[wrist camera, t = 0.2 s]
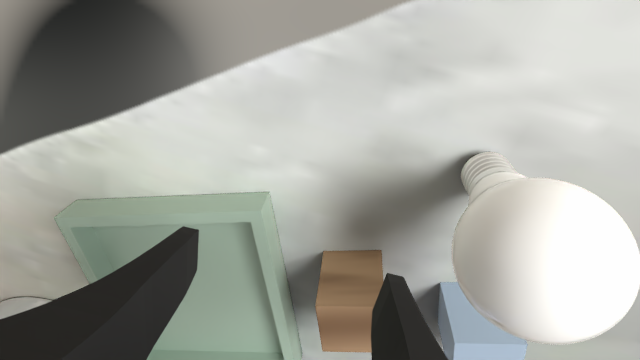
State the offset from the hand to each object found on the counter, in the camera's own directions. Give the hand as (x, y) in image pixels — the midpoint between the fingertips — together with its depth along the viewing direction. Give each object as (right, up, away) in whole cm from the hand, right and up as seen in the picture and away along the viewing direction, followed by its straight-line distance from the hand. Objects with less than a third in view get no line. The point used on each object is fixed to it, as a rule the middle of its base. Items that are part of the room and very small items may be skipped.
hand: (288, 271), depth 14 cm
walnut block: (+4, -3, +13) cm, 14 cm away
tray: (-8, -5, +15) cm, 18 cm away
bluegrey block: (+12, -5, +13) cm, 18 cm away
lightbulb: (+11, +4, +8) cm, 14 cm away
